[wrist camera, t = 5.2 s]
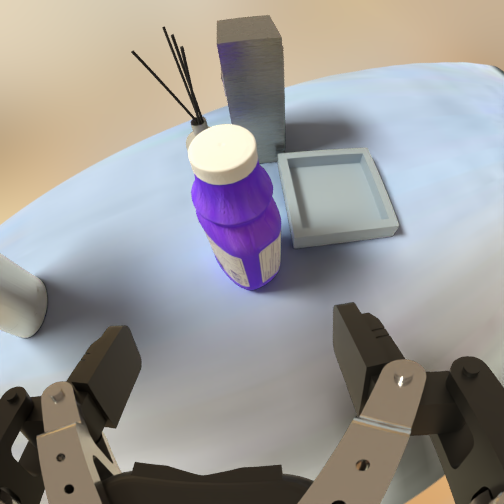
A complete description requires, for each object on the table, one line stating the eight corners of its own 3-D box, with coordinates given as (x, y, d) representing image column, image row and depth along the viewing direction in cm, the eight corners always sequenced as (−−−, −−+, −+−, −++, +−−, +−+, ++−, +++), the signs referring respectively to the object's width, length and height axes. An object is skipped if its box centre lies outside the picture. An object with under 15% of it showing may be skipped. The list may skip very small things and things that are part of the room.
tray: (293, 248, 32) (294, 238, 30) (278, 167, 37) (277, 153, 35) (392, 236, 32) (399, 225, 29) (363, 160, 37) (367, 147, 35)
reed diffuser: (239, 176, 37) (211, 33, 19) (189, 197, 36) (133, 60, 18) (213, 132, 41) (184, 13, 23) (170, 149, 41) (125, 34, 23)
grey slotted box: (237, 166, 38) (213, 44, 22) (233, 128, 41) (214, 21, 25) (290, 160, 38) (291, 36, 21) (281, 123, 41) (277, 14, 25)
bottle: (291, 270, 31) (300, 151, 15) (249, 304, 30) (215, 208, 14) (248, 225, 34) (224, 99, 18) (208, 255, 33) (152, 140, 17)
